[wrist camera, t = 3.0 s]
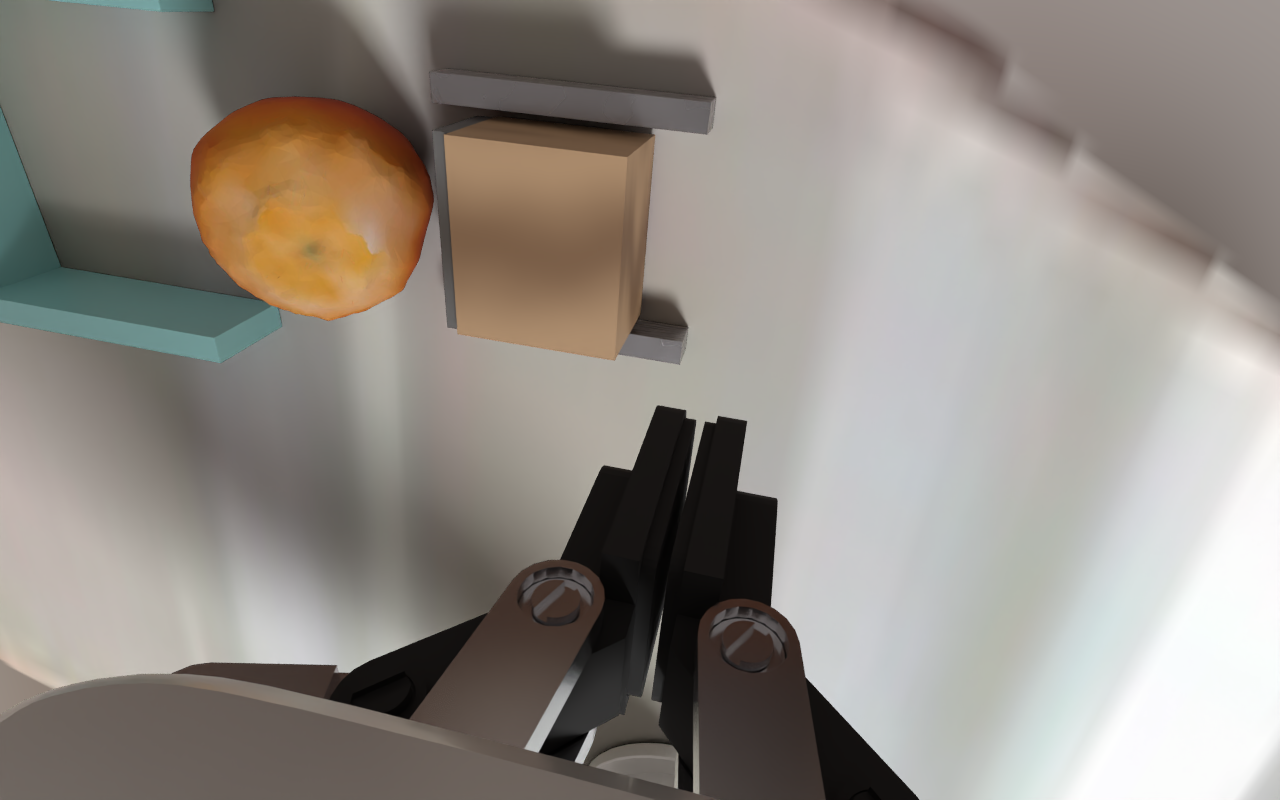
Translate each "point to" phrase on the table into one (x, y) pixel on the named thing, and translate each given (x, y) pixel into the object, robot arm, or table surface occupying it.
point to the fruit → (311, 204)
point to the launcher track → (589, 106)
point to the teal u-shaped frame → (104, 304)
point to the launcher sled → (543, 231)
